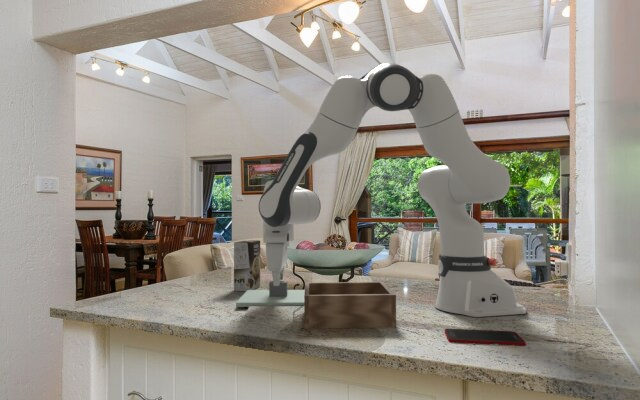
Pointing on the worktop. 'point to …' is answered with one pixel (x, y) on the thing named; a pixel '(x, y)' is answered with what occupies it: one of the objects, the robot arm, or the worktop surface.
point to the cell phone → (484, 337)
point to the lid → (272, 296)
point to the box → (349, 305)
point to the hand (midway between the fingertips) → (278, 282)
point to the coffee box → (246, 265)
